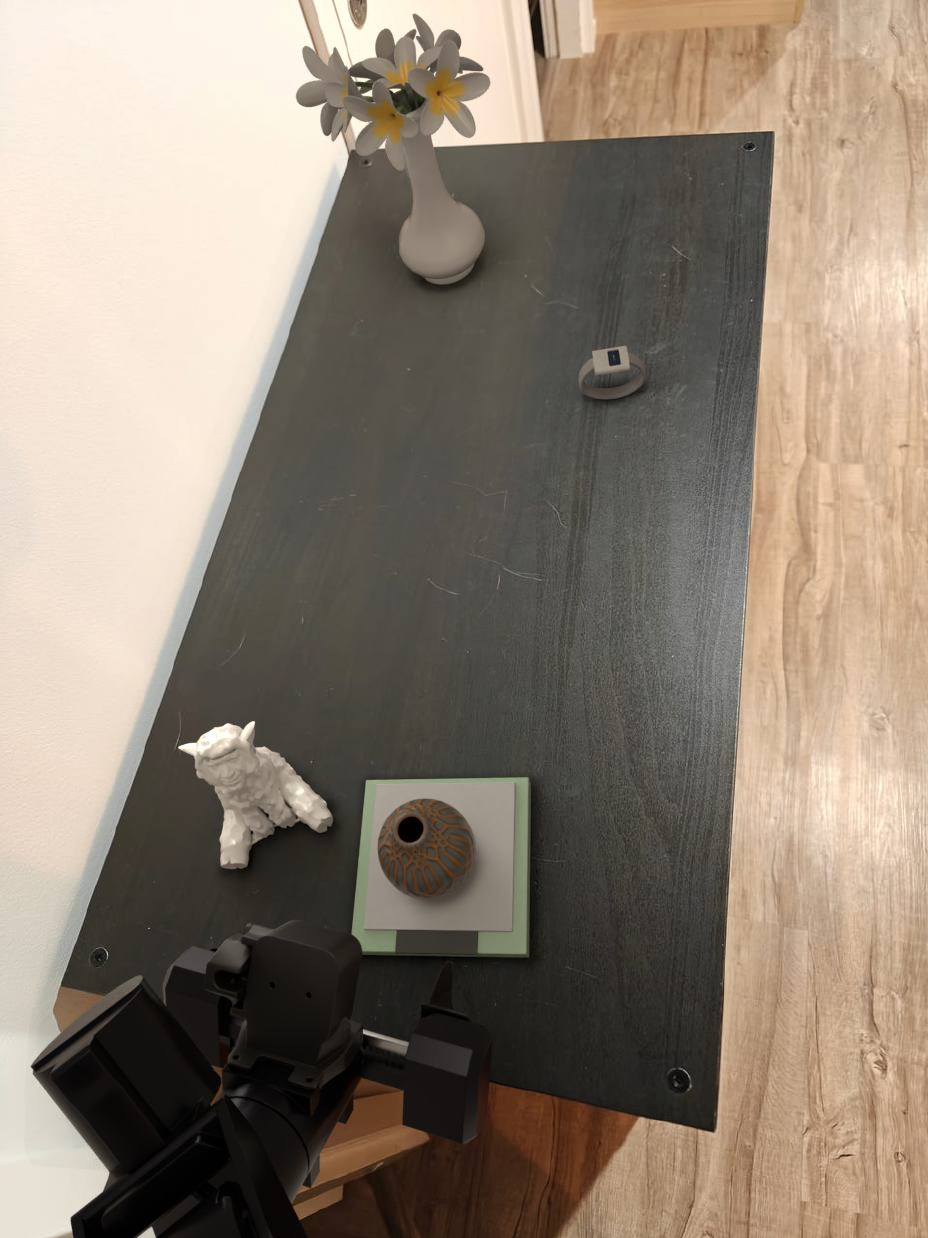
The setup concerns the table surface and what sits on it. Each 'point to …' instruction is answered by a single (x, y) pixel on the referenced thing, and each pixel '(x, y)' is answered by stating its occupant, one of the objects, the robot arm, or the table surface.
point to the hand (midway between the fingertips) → (381, 949)
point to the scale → (483, 906)
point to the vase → (426, 849)
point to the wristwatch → (611, 363)
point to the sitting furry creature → (253, 790)
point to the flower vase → (409, 134)
